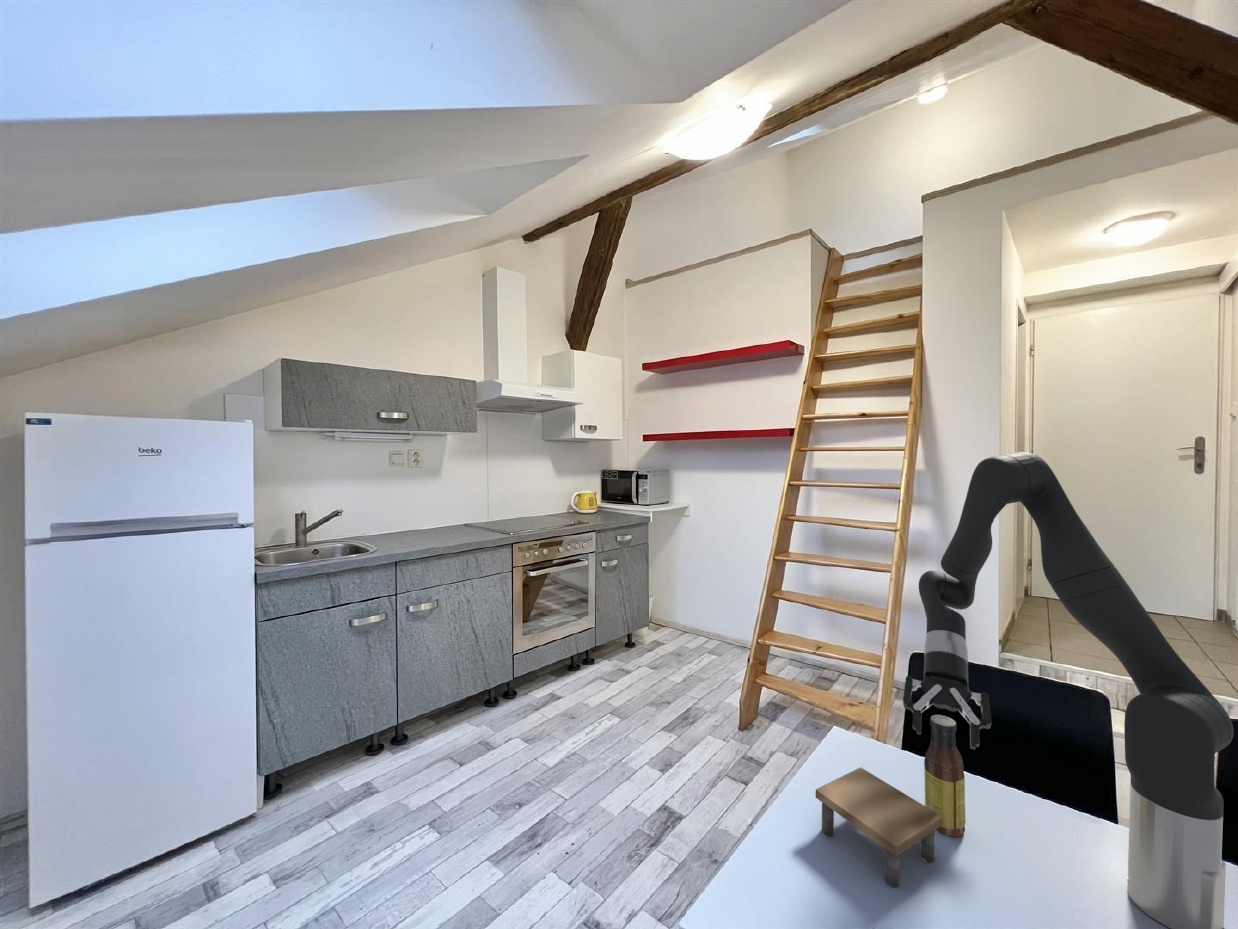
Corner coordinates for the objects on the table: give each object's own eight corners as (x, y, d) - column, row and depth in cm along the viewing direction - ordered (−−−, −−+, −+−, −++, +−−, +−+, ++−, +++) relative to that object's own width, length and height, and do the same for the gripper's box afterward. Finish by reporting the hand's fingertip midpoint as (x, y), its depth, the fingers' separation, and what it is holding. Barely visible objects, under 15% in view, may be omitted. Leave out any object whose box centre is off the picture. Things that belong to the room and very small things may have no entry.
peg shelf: (941, 860, 84) (942, 816, 83) (895, 894, 77) (896, 846, 77) (860, 805, 97) (860, 767, 96) (815, 830, 90) (815, 789, 90)
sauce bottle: (952, 815, 94) (955, 711, 94) (973, 840, 88) (975, 730, 87) (916, 812, 95) (918, 710, 94) (934, 838, 88) (936, 728, 88)
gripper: (905, 642, 104) (901, 721, 95) (990, 658, 96) (994, 745, 87) (906, 659, 109) (902, 735, 99) (987, 675, 101) (990, 759, 92)
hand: (945, 740), depth 93 cm, fingers open, 8 cm apart
